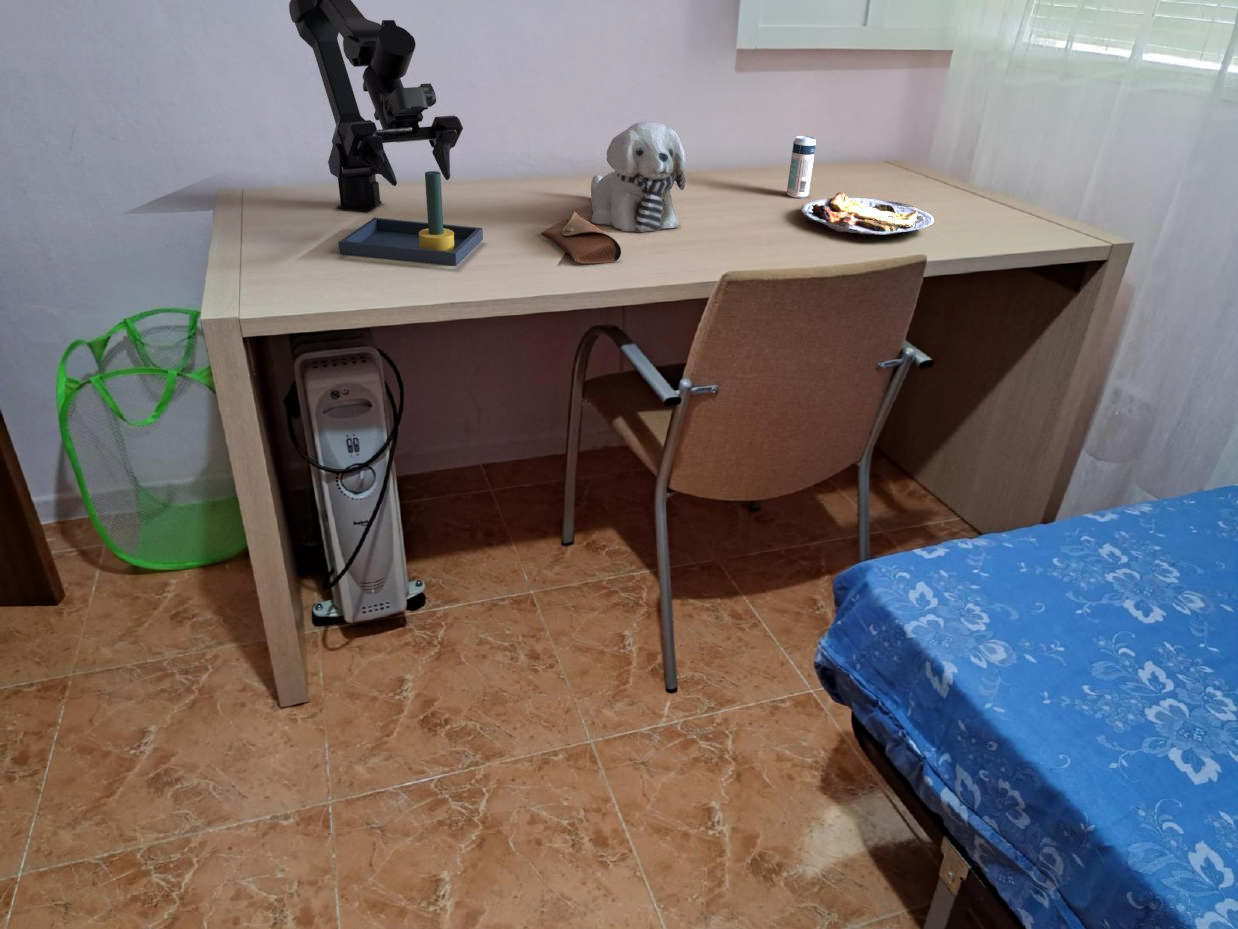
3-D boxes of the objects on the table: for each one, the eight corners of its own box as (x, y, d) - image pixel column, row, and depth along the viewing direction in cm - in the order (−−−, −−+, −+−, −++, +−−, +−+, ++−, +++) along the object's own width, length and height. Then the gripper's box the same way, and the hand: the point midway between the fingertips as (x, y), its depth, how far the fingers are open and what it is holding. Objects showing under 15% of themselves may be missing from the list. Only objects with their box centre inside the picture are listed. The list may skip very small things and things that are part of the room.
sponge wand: (415, 257, 146) (409, 175, 140) (426, 247, 151) (421, 167, 144) (448, 260, 146) (443, 178, 139) (459, 250, 150) (455, 170, 144)
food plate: (777, 220, 178) (780, 202, 176) (839, 201, 193) (842, 184, 191) (892, 251, 164) (896, 232, 162) (949, 227, 179) (953, 210, 177)
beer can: (811, 195, 196) (820, 137, 189) (803, 199, 192) (812, 141, 186) (791, 191, 198) (799, 134, 192) (782, 195, 194) (790, 137, 188)
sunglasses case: (534, 232, 162) (552, 198, 160) (565, 248, 166) (582, 215, 164) (576, 263, 148) (596, 227, 146) (608, 280, 152) (628, 245, 151)
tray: (340, 258, 146) (338, 241, 145) (375, 233, 159) (374, 217, 157) (456, 270, 144) (455, 253, 143) (483, 243, 157) (482, 227, 155)
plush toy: (653, 239, 163) (660, 133, 154) (543, 213, 174) (543, 113, 165) (700, 218, 176) (709, 119, 167) (594, 195, 187) (597, 101, 178)
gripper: (342, 66, 136) (377, 157, 134) (455, 62, 146) (489, 147, 144) (330, 113, 146) (363, 198, 144) (436, 106, 155) (468, 186, 153)
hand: (422, 181), depth 146 cm, fingers open, 9 cm apart
